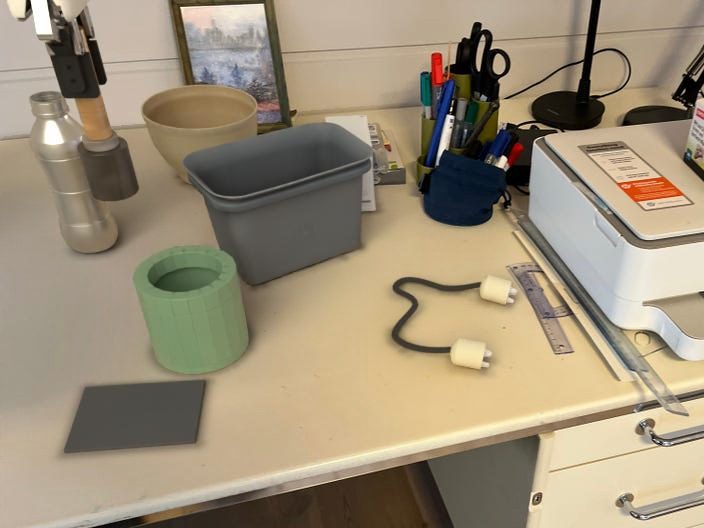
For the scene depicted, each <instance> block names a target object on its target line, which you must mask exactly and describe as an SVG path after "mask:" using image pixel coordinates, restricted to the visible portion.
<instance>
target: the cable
mask: <svg viewBox="0 0 704 528" xmlns="http://www.w3.org/2000/svg"><path fill="white" fill-rule="evenodd" d="M406 283H410V284H417V285H418V284H419V285H422V286H425V287H429V288H432V289H435V290H439V291H444V292H462V291H468V290H475V289H479V295H480V297H481V299H483V300H487V301H490V302H494V303H496V304H499V305H502V306H503V305H504V306H506V305H507V304H514V301H515V299H514V298H511V297H509V296H517V293H518V290H517V289H516V288H515V287H513V280H509V279H506V278H502V277H499V276H495V275H492V274H488V275H485V276H484V278H483V279H482V280H481V281H476V282H472V283H466V284H458V285H456V284H455V285H448V284H447V285H446V284H441V283H438V282H434V281H431V280H427V279H425V278H421V277H416V276H405V277H400V278H399V279H397V280H396V281H394V283H393V284H392V286H391V287H392V291H393V292H394V293H395V294H397V295H399V296H401V297H402V298H405V299H407V300H408V301H410V302H411V303H412V305H411V306H410V308H409V309H408V310H407V311H406V312H405V313H404V314H403V316H401V318H399V320H398V321H397V322H396V324H395V325H394V326H393V328H392V330H391V338H392V340H393V341H394V342H395V343H396V344H397V345H399V346H400V347H403V348H405V349H408V350H410V351H413V352H417V353H418V352H419V353H425V354H449V356H450V361H451V363H452V364H453V365H456V366H461V367H466V368H471V369H476V370H481V369H482V368H489V367H490V362H486V361H484V357H485V358H491V356H492V354H493V352H492V351H490V350H488V349H486V345H487V343H486V342H483V341H478V340H474V339H469V338H464V337H460V336H459V337H457V338H456V339H455V340H454V341H453V343H452V344H451V346H427V345H420V344H417V343H416V344H415V343H412V342H409V341H407V340H405V339H403V338H402V337H400V336H399V331H400V330H401V328H402V327H403V326H404V325H405V323H406V322H407V321H408V320H409V319H410V318H411V317H412V316H414V313H416V311H417V309H418V307H419V301H418V299H417V298H416V296H414V295H413V294H411V293H410V292H408V291H406V290H403V289H402V288H399V287H400V286H401V285H404V284H406Z"/></svg>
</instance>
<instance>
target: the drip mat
mask: <svg viewBox="0 0 704 528" xmlns="http://www.w3.org/2000/svg"><path fill="white" fill-rule="evenodd" d="M205 387H206V380H205V379H195V380H194V379H192V380H179V381H178V380H177V381H160V382H145V383H130V384H129V383H128V384H115V385H114V384H113V385H99V386H85V387H84V388H83V389H84V390H83V392H82V395H81V398H80V400H79V404H78V407H77V410H76V413H75V415H74V419H73V422H72V425H71V427H70V431H69V432H68V433H69V434H68V437H67V439H66V442H65V446H64V449H63V452H64V454H71V453H72V454H73V453H84V452H98V451H99V452H100V451H111V450H123V449H138V448H149V447H150V448H152V447H164V446H165V447H166V446H178V445H192V444H196V441H197V435H198V429H199V423H200V417H201V412H202V411H201V410H202V404H203V399H204V393H205Z"/></svg>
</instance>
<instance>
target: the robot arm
mask: <svg viewBox="0 0 704 528" xmlns="http://www.w3.org/2000/svg"><path fill="white" fill-rule="evenodd" d="M90 1H91V0H6V4H7V7H8V10H9V13H10V15H11V16H12V18H13V19H14V20H15V21H17V22H20V23H23V22H26V21H27V20H28V19H29V18H30V17H31V16H32V15H33V21H34V27H35V32H36V36H37V39H38V40H39V41H40V42H43V43H44V45H45V49H46V52H47V54H48V56H49V58H50V61H51V64H52V68H53V71H54V74H55V77H56V80H57V84H58V87H59V90H60V92H61V93H62V96H63V97H64V98H65V99H66V100H67V99H68V100H69V99H72V100H73V99H74V98H98V97H99V95H100V90H101V88H100V89H99V87H100V86H104V85H106V84H107V82H108V77H107V74H106V70H105V66H104V62H103V59H102V55H101V51H100V47H99V44H98V40H97V39H96V32H95V28H94V24H93V20H92V17H91V14H90V11H89V7H88V4H89V2H90ZM78 25H80V26H82V27H83V29H84V33H85V36H86V40H87V44H88V47H89V51H90V53H89V52H84V46H83V43H82V39H81V35H80V31H79V28H78ZM58 26H68V30H69V33H70V35H69V33H68V32H67V31H66V29H60V28H59V27H58ZM90 54H91V57H90ZM91 58H92V61H91ZM92 62H93V64H92ZM93 65H94V68H93ZM94 69H95V71H94ZM95 72H96V75H95ZM96 76H97V78H96ZM97 80H98V82H97ZM98 83H99V86H98ZM74 100H75V99H74Z"/></svg>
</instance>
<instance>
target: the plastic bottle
mask: <svg viewBox="0 0 704 528" xmlns="http://www.w3.org/2000/svg"><path fill="white" fill-rule="evenodd" d="M28 102H29V104H30V107H31V113H32V116H33V117H36V118H35V120H34V123H33V124H32V126H31V130H30V132H29V136H28V143H29V147H30V149H31V151H32V153H33V155H34V157H35V158H36V160H37V162H38V164H39V166H40V168H41V170H42V172H43V173H44V176H45V178H46V181H47V183H48V185H49V187H50V190H51V193H52V195H53V198H54V203H55V207H56V210H57V214H58V225H59V229H60V234H61V236H62V238H63V241H65V243H66V245H67V246H68V247H70V248H71V249H73V250H74V251H76V252H78V253H81V254H82V253H83V254H94V253H99V252H103V251H105V250H108V249H110V248H111V247H113V246H114V245H115V244H116V242H117V239H118V237H119V232H118V231H119V230H118V224H117V220H116V219H115V217H114V214H113V213H112V211H111V209H110V208H109V206H108V204H107V201H100V200H97V199H95V198H93V197H92V195H91V192H90V189H89V186H88V183H87V180H86V176H85V173H84V170H83V167H82V164H81V161H80V157H79V154H78V151H77V146H78V144H79V143H80V142H82V135H83V134H84V133H85V132H84V129H83V126H82V124H81V123H79V121H77V120H76V119H75V118H73V116H71V115H70V114H69V113H70V106H69V105H68V103H67V98H64V97H63V96H62V93H61V91H57V90H45V91H38V92H35V93H33V94H30V96H29V97H28Z"/></svg>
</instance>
